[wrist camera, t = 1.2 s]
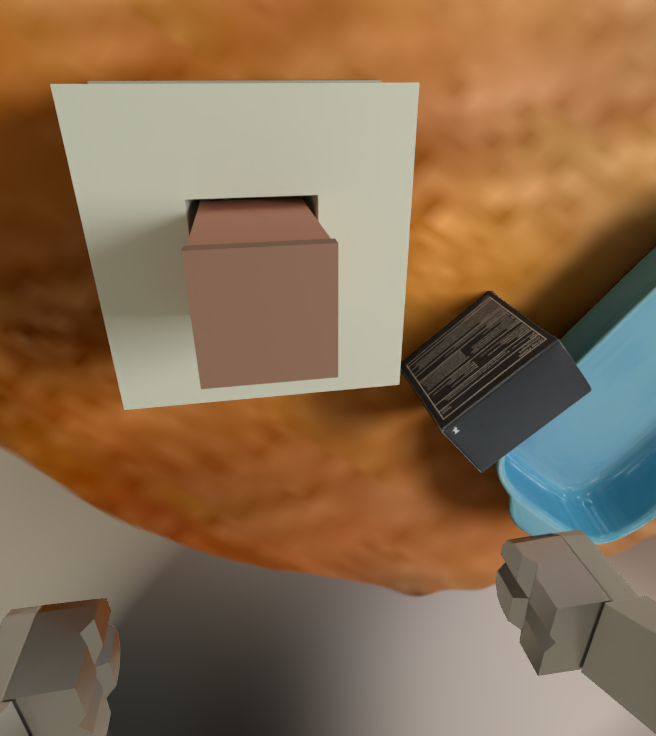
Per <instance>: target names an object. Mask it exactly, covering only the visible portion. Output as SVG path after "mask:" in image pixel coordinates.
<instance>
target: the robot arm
mask: <svg viewBox="0 0 656 736" xmlns="http://www.w3.org/2000/svg"><path fill="white" fill-rule="evenodd" d="M501 555H502V557H503V559H504V561H505V563H504V564H503V565H502V566H501V568H500V569H499V570H498V571H497V577H496V588H497V596H498V599H499V602H500V605H501V608H502V610H503V612H504V614H505V616H506V618H507V620H508V621H509V622H511V623H512V624H514V625H515V626H517V627H518V628H519V629H521V636H520V644H521V646H522V647H523V649H524V651H525V653H526V655H527V657H528V658H529V660H530V662H531V664H532V666H533V668H534V669H535V671H536V673H537V675H538V676H539V675H546V674H552V673H559V672H565V671H573V670H578V669H582V671H581V672H582V673H583V674H584V675H586V676H587V677H588V678H589V679H590V680H592V681H593V682H594V683H595V684H596V685H598V686H599V687H600V688H601V689H602V690H604V691H605V692H606V693H607V694H609V695H610V696H611V697H612V698H613V699H614V700H616V701H617V702H618V703H619V704H620V705H622V706H623V707H624V708H625V709H626V710H628V711H629V712H630V713H631V714H632V715H634V716H635V717H636V718H637V719H639V720H640V721H641V722H642V723H643V724H644V725H646V726H647V727H648V728H649V729H650V730H652V731H653V732H654V733H655V734H656V601H654V600H653V599H651V598H649V597H647V596H642V597H639V596H638V595H637V594H636V593H635V592H634V590H633V589H632V588H631V587H630V586H629V585H628V583H627V582H626V581H625V580H624V579H623V578H622V576H621V575H620V574H619V573H618V571H617V570H616V569H615V568H614V567H613V566H612V564H611V563H610V562H609V561H608V559H607V558H606V557H605V556H604V555H603V554H602V552H601V551H600V550H599V549H598V548H597V546H596V545H595V544H594V543H593V542H592V540H591V539H590V538H589V537H588V536H587V535H586V534H585V533H584V532H582V531H581V530H572V531H565V532H558V533H554V534H553V533H549V534H542V535H536V536H529V537H523V538H517V539H510V540H507V541H506V542H505V543H504V544H503V547H502V551H501ZM110 613H111V610H110V607H109V604H108V601H107V599H106V598H101V599H92V600H84V601H75V602H66V603H58V604H49V605H43V606H35V607H27V608H19V609H12V610H11V611H10V612H9V613H8V614H7V615H6V616H5V617H4V619H3V620H2V623H1V625H0V736H106V733H107V729H108V724H109V719H110V714H111V712H110V709H109V706H108V703H107V700H106V697H107V696H108V695H109V694H110V692H111V691H112V690H113V689H114V688H115V686H116V684H117V678H118V673H119V665H120V644H119V636H118V633H117V629H116V628H115V627H113V626H112V625H110V624H109V623H108V622H109V618H110Z"/></svg>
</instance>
